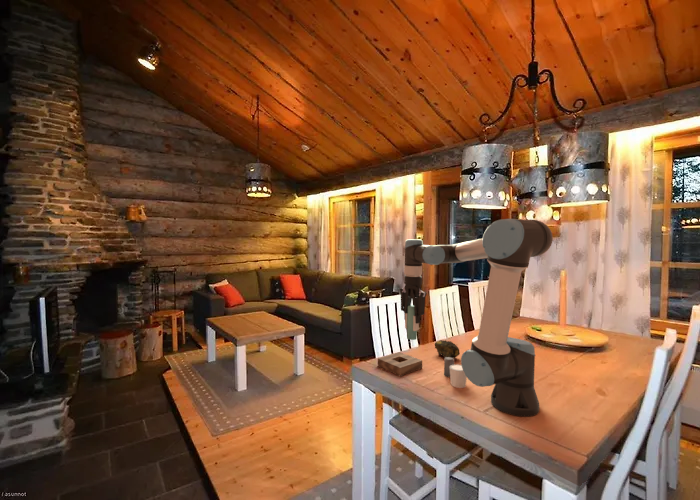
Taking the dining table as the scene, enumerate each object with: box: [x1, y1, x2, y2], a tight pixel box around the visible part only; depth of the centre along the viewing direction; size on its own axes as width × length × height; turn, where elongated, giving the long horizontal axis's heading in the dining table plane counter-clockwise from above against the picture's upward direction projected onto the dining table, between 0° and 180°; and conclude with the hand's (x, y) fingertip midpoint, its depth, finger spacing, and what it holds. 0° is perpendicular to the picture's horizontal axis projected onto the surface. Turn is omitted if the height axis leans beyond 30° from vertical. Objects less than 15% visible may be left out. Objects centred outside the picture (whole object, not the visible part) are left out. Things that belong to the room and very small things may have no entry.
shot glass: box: [449, 364, 468, 389], centre depth 137 cm, size 7×7×7 cm
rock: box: [434, 339, 461, 359], centre depth 168 cm, size 12×9×8 cm
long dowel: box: [406, 304, 418, 341], centre depth 150 cm, size 4×4×14 cm
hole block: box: [377, 352, 423, 377], centre depth 155 cm, size 14×14×4 cm
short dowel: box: [443, 357, 455, 378], centre depth 146 cm, size 4×4×7 cm
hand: (411, 328), depth 150 cm, fingers closed on long dowel, 4 cm apart
